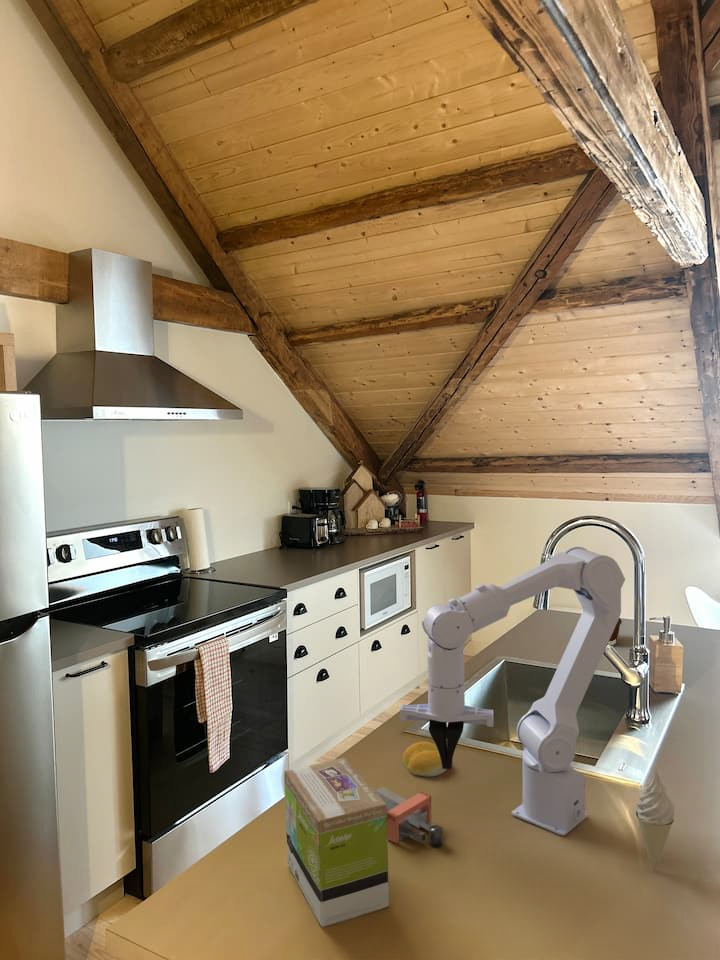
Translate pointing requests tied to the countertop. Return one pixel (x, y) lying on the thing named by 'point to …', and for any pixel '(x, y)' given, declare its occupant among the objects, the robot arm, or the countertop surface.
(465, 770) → the countertop surface
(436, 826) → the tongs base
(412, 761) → the bread roll
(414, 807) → the pink bridge block
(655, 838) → the ice cream cone
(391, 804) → the bar
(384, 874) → the tea box
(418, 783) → the countertop surface
